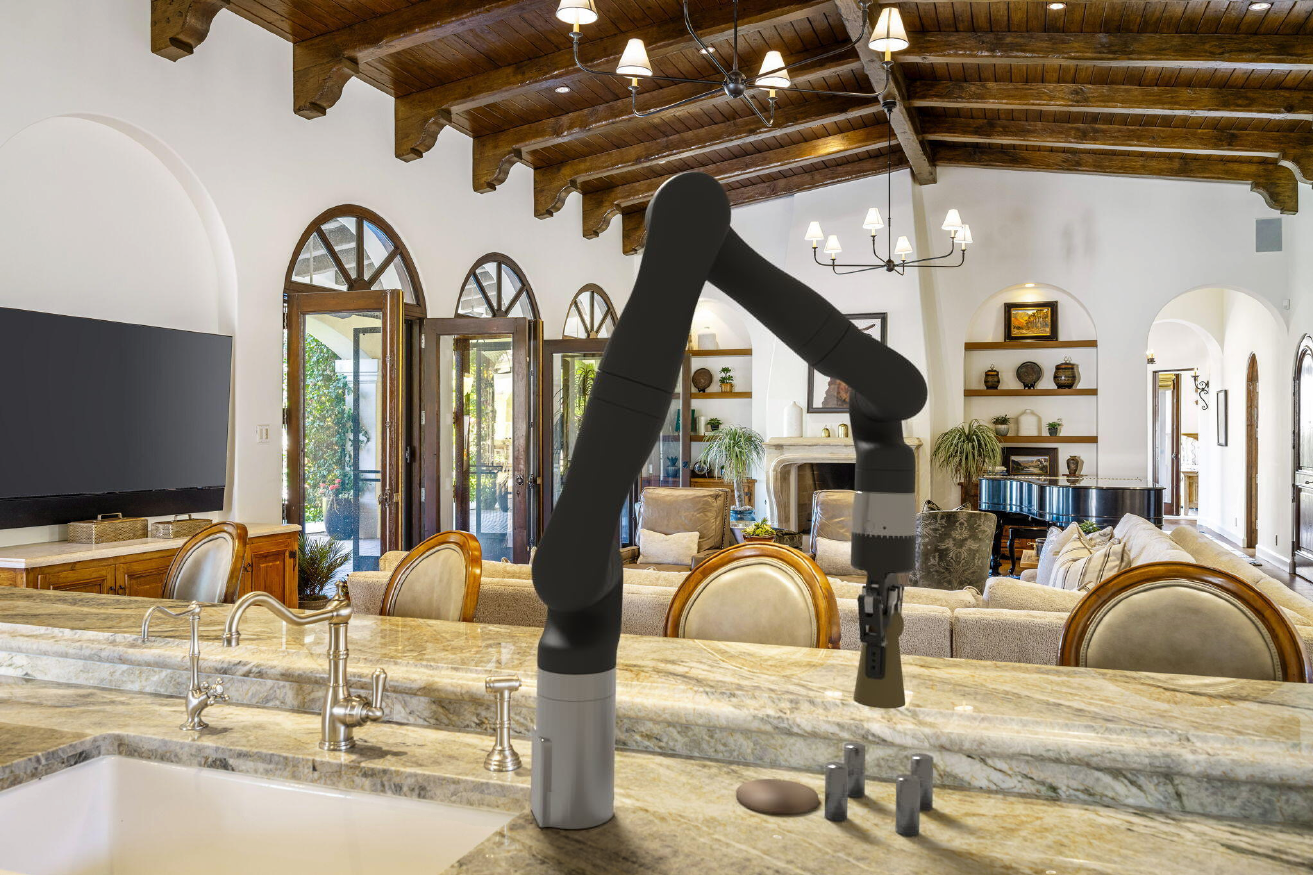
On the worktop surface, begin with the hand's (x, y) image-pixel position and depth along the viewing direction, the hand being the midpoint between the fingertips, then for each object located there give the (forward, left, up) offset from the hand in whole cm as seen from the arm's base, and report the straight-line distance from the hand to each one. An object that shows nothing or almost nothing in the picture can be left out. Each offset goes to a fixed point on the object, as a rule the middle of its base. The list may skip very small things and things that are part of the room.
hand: (879, 673), depth 108 cm
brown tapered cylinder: (0, 0, -4) cm, 4 cm away
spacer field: (0, 0, -16) cm, 16 cm away
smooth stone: (-10, +7, -16) cm, 20 cm away
